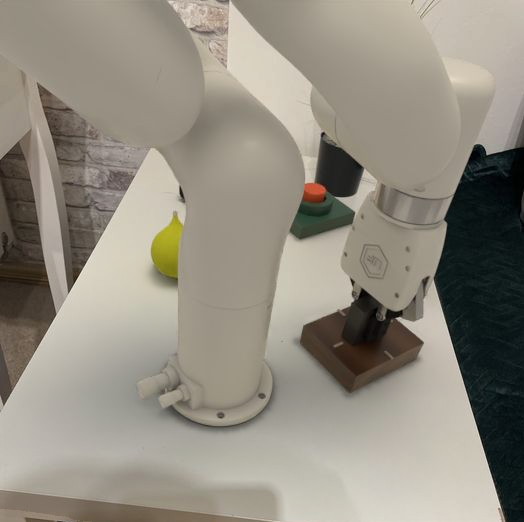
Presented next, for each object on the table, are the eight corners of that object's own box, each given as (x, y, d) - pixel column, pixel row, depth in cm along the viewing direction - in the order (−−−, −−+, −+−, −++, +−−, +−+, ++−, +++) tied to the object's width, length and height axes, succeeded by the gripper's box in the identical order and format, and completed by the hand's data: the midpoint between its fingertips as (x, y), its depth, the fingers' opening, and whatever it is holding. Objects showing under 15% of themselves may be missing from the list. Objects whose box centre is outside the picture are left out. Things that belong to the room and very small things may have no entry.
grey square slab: (352, 346, 64) (364, 311, 60) (340, 335, 65) (351, 300, 61) (386, 330, 67) (400, 296, 63) (374, 320, 68) (387, 286, 64)
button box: (299, 239, 85) (303, 218, 83) (264, 210, 91) (266, 189, 88) (352, 223, 91) (358, 202, 88) (316, 196, 96) (320, 176, 94)
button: (310, 206, 86) (312, 196, 85) (295, 194, 88) (297, 185, 87) (328, 201, 88) (331, 191, 87) (313, 190, 90) (315, 180, 89)
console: (350, 393, 63) (357, 376, 61) (298, 341, 68) (302, 323, 66) (417, 359, 68) (425, 341, 66) (364, 313, 74) (370, 296, 72)
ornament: (178, 252, 79) (178, 191, 72) (211, 274, 76) (215, 213, 69) (141, 271, 75) (137, 208, 68) (175, 294, 72) (175, 232, 65)
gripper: (333, 169, 55) (303, 302, 68) (448, 247, 47) (389, 383, 60) (382, 157, 59) (345, 286, 72) (498, 228, 50) (432, 360, 63)
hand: (365, 329), depth 66 cm, fingers closed on grey square slab, 2 cm apart
